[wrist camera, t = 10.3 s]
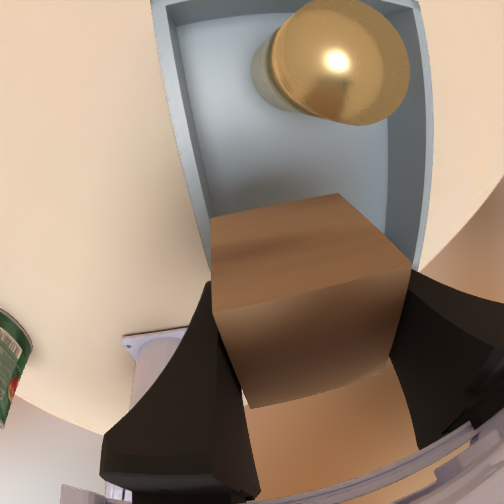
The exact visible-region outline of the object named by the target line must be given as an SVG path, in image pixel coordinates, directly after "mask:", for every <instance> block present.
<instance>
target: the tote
mask: <svg viewBox="0 0 504 504" xmlns="http://www.w3.org/2000/svg"><path fill="white" fill-rule="evenodd" d="M312 1H314V0H150V3H151V10H152V17H153V23H154V29H155V36H156V42H157V47H158V53H159V59H160V64H161V69H162V75H163V80H164V85H165V90H166V95H167V100H168V105H169V110H170V114H171V119H172V124H173V128H174V133H175V137H176V141H177V146H178V150H179V154H180V159H181V163H182V167H183V171H184V175H185V179H186V183H187V187H188V191H189V195H190V199H191V203H192V207H193V211H194V214H195V218H196V222H197V226H198V229H199V233H200V237H201V240H202V244H203V248H204V251H205V255H206V258H207V262H208V265H209V269H210V272H211V239H210V218H214V217H218V216H223V215H227V214H232V213H237V212H241V211H246V210H251V209H256V208H261V207H266V206H271V205H276V204H281V203H286V202H291V201H297V200H302V199H307V198H313V197H318V196H324V195H330V194H335V193H339V194H340V195H341V196H342V197H344V198H345V199H346V200H347V201H348V202H349V203H350V204H352V205H353V206H354V207H355V208H356V209H357V210H358V211H359V212H360V213H362V214H363V215H364V216H365V217H366V218H367V219H368V220H369V221H370V222H371V223H372V224H373V225H374V226H375V227H377V228H378V229H379V230H380V231H381V232H382V233H383V234H384V235H385V236H386V237H387V238H388V239H389V240H390V241H391V242H392V243H393V244H394V245H395V246H396V247H397V248H398V249H399V250H400V251H401V252H402V253H403V254H404V255H405V256H406V257H407V258H408V259H409V260H410V261H411V262H412V263H413V264H412V269H413V270H415V271H418V267H419V262H420V257H421V252H422V247H423V241H424V236H425V230H426V223H427V216H428V209H429V200H430V191H431V180H432V165H433V139H434V120H433V94H432V80H431V70H430V61H429V53H428V47H427V40H426V34H425V29H424V24H423V19H422V14H421V10H420V6H419V2H418V1H415V0H358V1H360V2H362V3H365V4H367V5H369V6H370V7H372V8H374V9H375V10H377V11H378V12H379V13H381V14H382V15H383V16H384V17H385V18H386V19H387V20H388V21H389V22H390V23H391V24H392V25H393V27H394V28H395V29H396V31H397V32H398V34H399V35H400V37H401V39H402V41H403V43H404V45H405V48H406V51H407V54H408V58H409V64H410V80H409V86H408V89H407V93H406V95H405V97H404V99H403V101H402V103H401V104H400V106H399V107H398V108H397V109H396V111H394V112H393V113H392V114H391V115H390V116H388V117H387V118H385V119H384V120H382V121H380V122H377V123H374V124H371V125H364V126H354V125H346V124H342V123H338V122H334V121H330V120H326V119H322V118H317V117H312V116H308V115H303V114H297V113H292V112H287V111H283V110H280V109H278V108H275V107H274V106H272V105H270V104H269V103H268V102H266V101H265V100H264V99H263V98H262V97H261V96H260V94H259V93H258V92H257V90H256V88H255V86H254V84H253V81H252V77H251V62H252V59H253V56H254V54H255V52H256V50H257V49H258V47H259V46H260V45H261V44H262V43H263V42H264V41H265V40H266V39H267V38H268V37H269V36H270V35H271V34H272V33H274V32H275V31H276V30H277V29H278V28H279V27H280V26H281V25H282V24H283V23H284V22H286V21H287V20H288V19H289V18H290V17H291V16H292V15H294V14H295V13H296V12H297V11H298V10H299V9H301V8H302V7H303V6H305V5H306V4H308V3H310V2H312Z"/></svg>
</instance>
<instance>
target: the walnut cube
mask: <svg viewBox="0 0 504 504" xmlns="http://www.w3.org/2000/svg"><path fill="white" fill-rule="evenodd" d="M210 239H211V289H212V313H213V316H214V319H215V322H216V324H217V327H218V330H219V332H220V335H221V338H222V340H223V343H224V345H225V348H226V350H227V353H228V356H229V358H230V361H231V363H232V366H233V368H234V371H235V373H236V376H237V378H238V380H239V383H240V385H241V388H242V390H243V392H244V395H245V397H246V400H247V402H248V404H249V407H250V409H253V408H259V407H264V406H268V405H273V404H278V403H283V402H287V401H291V400H295V399H300V398H303V397H307V396H311V395H315V394H318V393H322V392H326V391H329V390H332V389H335V388H339V387H342V386H345V385H348V384H351V383H354V382H357V381H360V380H363V379H366V378H368V377H372V376H374V375H377V374H379V373H382V372H383V371H384V368H385V365H386V362H387V359H388V356H389V353H390V350H391V347H392V344H393V341H394V337H395V334H396V331H397V327H398V324H399V320H400V316H401V313H402V309H403V305H404V301H405V297H406V293H407V288H408V284H409V279H410V274H411V269H412V264H413V263H412V262H411V261H410V260H409V259H408V258H407V257H406V256H405V255H404V254H403V253H402V252H401V251H400V250H399V249H398V248H397V247H396V246H395V245H394V244H393V243H392V242H391V241H390V240H389V239H388V238H387V237H386V236H385V235H384V234H383V233H382V232H381V231H380V230H379V229H378V228H377V227H375V226H374V225H373V224H372V223H371V222H370V221H369V220H368V219H367V218H366V217H365V216H364V215H363V214H362V213H360V212H359V211H358V210H357V209H356V208H355V207H354V206H353V205H352V204H350V203H349V202H348V201H347V200H346V199H345V198H344V197H342V196H341V195H340V194H339V193H335V194H330V195H324V196H318V197H313V198H307V199H302V200H297V201H291V202H286V203H281V204H276V205H271V206H266V207H261V208H256V209H251V210H246V211H241V212H237V213H232V214H227V215H223V216H218V217H214V218H210Z"/></svg>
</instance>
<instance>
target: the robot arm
mask: <svg viewBox="0 0 504 504" xmlns="http://www.w3.org/2000/svg"><path fill="white" fill-rule="evenodd" d="M121 342H122V344H123V345H124V347H125V348H126V350H127V351H128V353H129V354H130V355H131V357H132V358H133V360H134V361H135V362H136V367H135V373H134V380H133V387H132V394H131V401H130V409H129V412H128V413H127V414H126V415H125V416H124V417H123V418H122V419H121V420H120V421H119V422H118V423H116V424H115V425H114V426H113V427H112V428H111V429H110V430H109V431H108V432H106V433H105V434H104V438H103V443H102V450H101V462H100V473H99V475H100V476H101V477H102V478H103V479H104V480H105V497H104V496H102V495H100V494H97V493H94V492H91V491H87V490H83V489H79V488H75V487H71V486H68V485H64V484H63V485H62V487H61V500H60V504H339V503H342V502H345V501H348V500H352V499H354V498H357V497H360V496H363V495H366V494H368V493H371V492H374V491H376V490H379V489H381V488H383V487H386V486H388V485H390V484H392V483H395V482H397V481H399V480H401V479H404V478H406V477H408V476H410V475H411V474H414V473H416V472H417V471H420V470H421V469H423V468H425V467H427V466H429V465H431V464H432V463H434V462H436V461H438V460H439V459H441V458H443V457H444V456H446V455H448V454H449V453H451V452H452V451H454V450H456V449H457V448H459V447H460V446H462V445H463V444H464V443H466V442H468V441H469V440H470V439H471V441H470V446H469V448H467V449H466V450H464V451H463V452H462V453H460V454H459V455H457V456H456V457H454V458H453V459H451V460H450V461H448V462H446V463H445V464H443V465H442V466H440V467H438V468H436V469H435V471H434V473H435V476H436V478H437V480H436V481H434V482H432V483H431V484H429V485H427V486H425V487H423V488H421V489H419V490H417V491H415V492H413V493H412V494H409V495H407V496H405V497H403V498H401V499H398V500H396V501H394V502H392V503H389V504H504V304H503V303H499V302H495V301H490V300H487V299H483V298H479V297H476V296H473V295H470V294H467V293H464V292H461V291H459V290H456V289H454V288H451V287H449V286H446V285H444V284H441V283H439V282H437V281H435V280H433V279H431V278H429V277H427V276H425V275H423V274H421V273H419V272H417V271H415V270H413V269H411V274H410V279H409V284H408V288H407V293H406V297H405V301H404V305H403V309H402V313H401V316H400V320H399V324H398V327H397V331H396V334H395V337H394V341H393V344H392V347H391V350H390V353H389V357H390V359H391V361H392V364H393V366H394V369H395V371H396V374H397V376H398V378H399V381H400V384H401V387H402V389H403V392H404V395H405V398H406V401H407V405H408V408H409V411H410V415H411V419H412V423H413V427H414V432H415V436H416V441H417V446H418V448H419V451H418V452H416V453H414V454H412V455H410V456H408V457H406V458H403V459H401V460H399V461H397V462H395V463H392V464H390V465H388V466H385V467H383V468H381V469H378V470H376V471H373V472H371V473H368V474H365V475H363V476H360V477H357V478H354V479H351V480H349V481H345V482H342V483H339V484H336V485H332V486H329V487H326V488H322V489H318V490H314V491H310V492H306V493H302V494H297V495H292V496H287V497H282V498H277V499H270V500H264V501H256V502H248V503H246V501H251V500H255V498H256V497H257V496H258V495H259V494H260V492H261V489H260V485H259V480H258V476H257V472H256V468H255V463H254V458H253V454H252V449H251V444H250V439H249V434H248V429H247V423H246V418H245V412H244V406H243V400H242V390H241V385H240V383H239V380H238V378H237V376H236V373H235V371H234V368H233V366H232V363H231V361H230V358H229V356H228V353H227V350H226V348H225V345H224V343H223V340H222V338H221V335H220V332H219V330H218V327H217V324H216V322H215V319H214V316H213V313H212V289H211V281H208V282H207V283H206V284H205V287H204V290H203V292H202V295H201V298H200V301H199V303H198V306H197V308H196V310H195V313H194V315H193V317H192V319H191V322H190V324H189V326H188V327H187V328H181V329H175V330H168V331H162V332H155V333H147V334H140V335H132V336H125V337H123V338H122V341H121Z"/></svg>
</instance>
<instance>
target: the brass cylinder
mask: <svg viewBox="0 0 504 504" xmlns="http://www.w3.org/2000/svg"><path fill="white" fill-rule="evenodd" d="M251 77H252V81H253V84H254V86H255V88H256V90H257V92H258V93H259V94H260V96H261V97H262V98H263V99H264V100H265V101H266V102H268V103H269V104H270V105H272V106H274V107H275V108H278V109H280V110H283V111H287V112H292V113H297V114H303V115H308V116H312V117H317V118H322V119H326V120H330V121H334V122H338V123H342V124H346V125H354V126H364V125H371V124H374V123H377V122H380V121H382V120H384V119H385V118H387V117H388V116H390V115H391V114H392V113H393V112H394V111H396V109H397V108H398V107H399V106H400V104H401V103H402V101H403V99H404V97H405V95H406V93H407V89H408V86H409V80H410V64H409V58H408V54H407V51H406V48H405V45H404V43H403V41H402V39H401V37H400V35H399V34H398V32H397V31H396V29H395V28H394V27H393V25H392V24H391V23H390V22H389V21H388V20H387V19H386V18H385V17H384V16H383V15H382V14H381V13H379V12H378V11H377V10H375V9H374V8H372V7H370V6H369V5H367V4H365V3H362V2H360V1H358V0H314V1H312V2H310V3H308V4H306V5H305V6H303V7H302V8H301V9H299V10H298V11H297V12H296V13H295V14H294V15H292V16H291V17H290V18H289V19H288V20H287V21H286V22H284V23H283V24H282V25H281V26H280V27H279V28H278V29H277V30H276V31H275V32H274V33H272V34H271V35H270V36H269V37H268V38H267V39H266V40H265V41H264V42H263V43H262V44H261V45H260V46H259V47H258V49H257V50H256V52H255V54H254V56H253V59H252V62H251Z"/></svg>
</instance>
